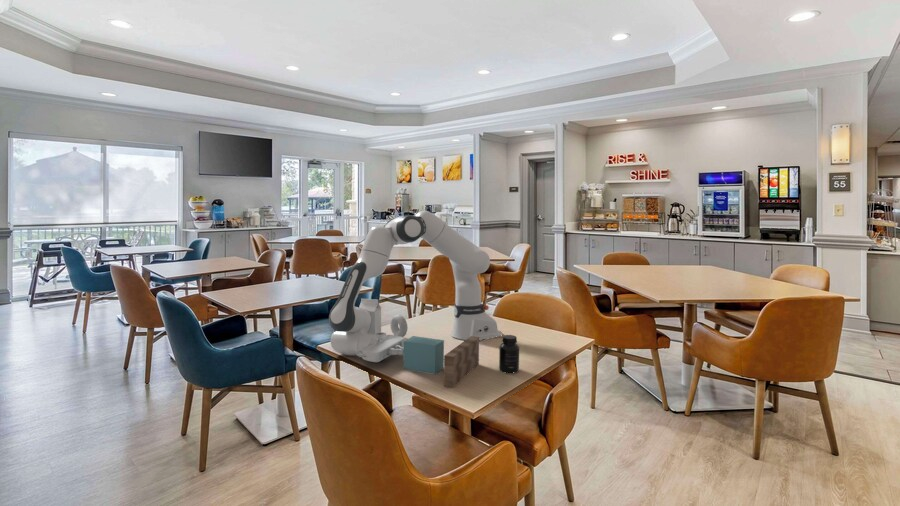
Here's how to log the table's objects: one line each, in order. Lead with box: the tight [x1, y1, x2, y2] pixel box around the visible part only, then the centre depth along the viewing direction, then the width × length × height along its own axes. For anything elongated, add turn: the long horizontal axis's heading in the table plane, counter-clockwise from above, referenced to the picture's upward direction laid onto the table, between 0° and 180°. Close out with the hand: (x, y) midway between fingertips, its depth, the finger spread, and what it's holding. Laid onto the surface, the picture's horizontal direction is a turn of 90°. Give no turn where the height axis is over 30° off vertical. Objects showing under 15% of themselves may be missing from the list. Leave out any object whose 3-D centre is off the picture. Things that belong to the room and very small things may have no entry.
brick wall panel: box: [443, 336, 480, 389], centre depth 156 cm, size 24×3×10 cm, turn 157°
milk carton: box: [359, 298, 382, 334], centre depth 186 cm, size 7×7×19 cm
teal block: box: [403, 335, 445, 375], centre depth 162 cm, size 12×7×10 cm, turn 67°
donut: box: [390, 314, 409, 338], centre depth 199 cm, size 10×4×10 cm, turn 43°
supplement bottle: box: [498, 334, 520, 374], centre depth 161 cm, size 7×7×12 cm
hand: (404, 351), depth 165 cm, fingers closed
